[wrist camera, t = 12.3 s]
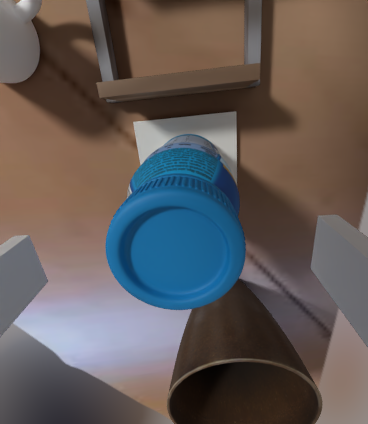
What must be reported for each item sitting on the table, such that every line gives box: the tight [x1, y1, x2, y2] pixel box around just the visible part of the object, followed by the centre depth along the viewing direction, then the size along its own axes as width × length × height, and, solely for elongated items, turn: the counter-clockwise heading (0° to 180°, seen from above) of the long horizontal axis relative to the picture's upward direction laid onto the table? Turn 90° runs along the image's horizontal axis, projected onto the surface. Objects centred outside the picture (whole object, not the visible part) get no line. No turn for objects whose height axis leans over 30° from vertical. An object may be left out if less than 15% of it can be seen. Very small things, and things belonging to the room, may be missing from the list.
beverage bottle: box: [106, 134, 246, 310], centre depth 20 cm, size 8×8×20 cm
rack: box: [86, 0, 262, 103], centre depth 21 cm, size 13×16×7 cm
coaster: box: [133, 111, 237, 184], centre depth 29 cm, size 12×12×1 cm
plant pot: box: [167, 279, 322, 424], centre depth 30 cm, size 15×15×16 cm
